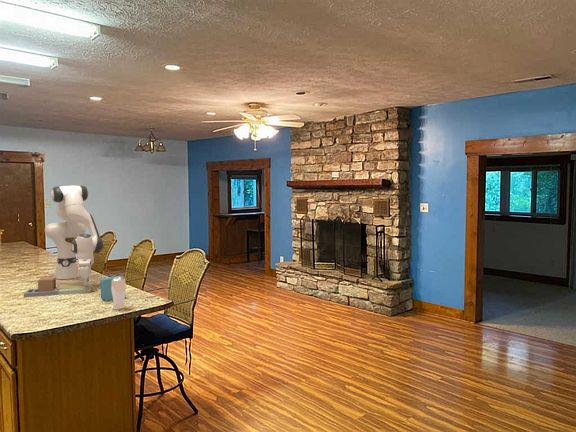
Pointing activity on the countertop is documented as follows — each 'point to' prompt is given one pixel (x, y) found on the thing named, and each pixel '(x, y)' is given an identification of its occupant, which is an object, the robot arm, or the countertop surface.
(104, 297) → the data package
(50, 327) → the countertop surface
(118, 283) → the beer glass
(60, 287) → the birch bar
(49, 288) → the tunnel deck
